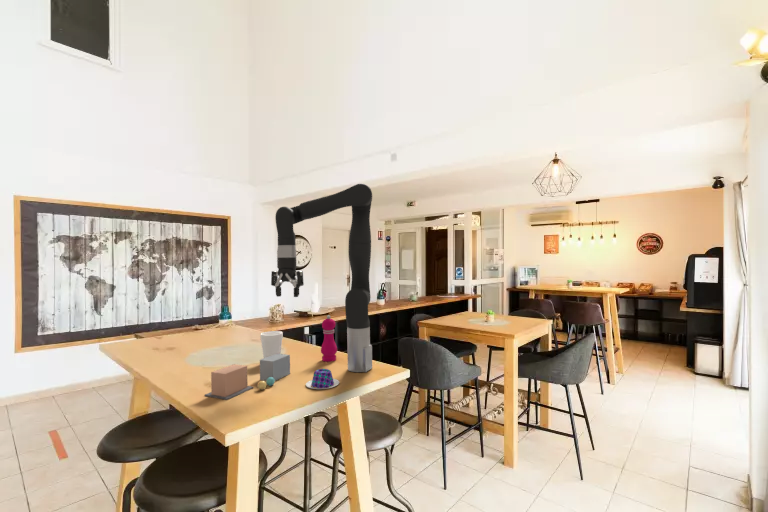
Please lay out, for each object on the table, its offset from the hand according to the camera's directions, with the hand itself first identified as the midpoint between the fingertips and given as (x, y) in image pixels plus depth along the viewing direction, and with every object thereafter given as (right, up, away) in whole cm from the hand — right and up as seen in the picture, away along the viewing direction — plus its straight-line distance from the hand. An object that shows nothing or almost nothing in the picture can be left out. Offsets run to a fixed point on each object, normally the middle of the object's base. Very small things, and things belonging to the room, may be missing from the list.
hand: (287, 296), depth 153 cm
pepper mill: (+15, -30, +16) cm, 37 cm away
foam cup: (-10, -31, +12) cm, 34 cm away
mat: (-14, -30, -23) cm, 41 cm away
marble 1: (-3, -30, -22) cm, 37 cm away
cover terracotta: (-14, -30, -23) cm, 40 cm away
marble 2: (-2, -30, -17) cm, 35 cm away
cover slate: (-3, -30, -7) cm, 31 cm away
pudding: (+17, -30, -17) cm, 39 cm away
